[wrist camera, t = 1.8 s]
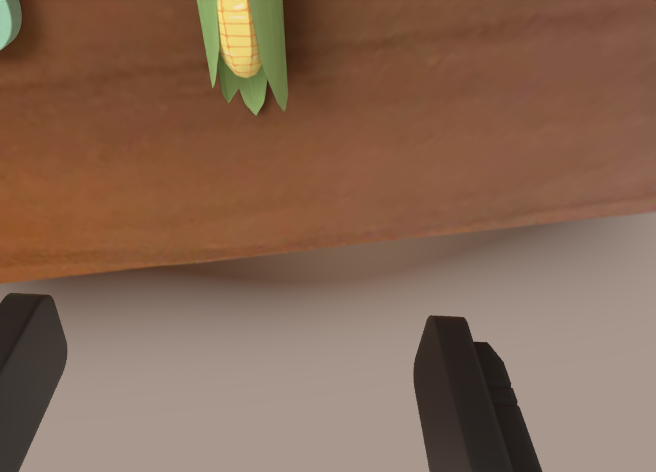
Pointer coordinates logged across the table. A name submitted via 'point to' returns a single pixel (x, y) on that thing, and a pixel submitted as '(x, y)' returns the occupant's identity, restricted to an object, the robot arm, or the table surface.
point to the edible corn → (246, 48)
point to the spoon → (9, 21)
